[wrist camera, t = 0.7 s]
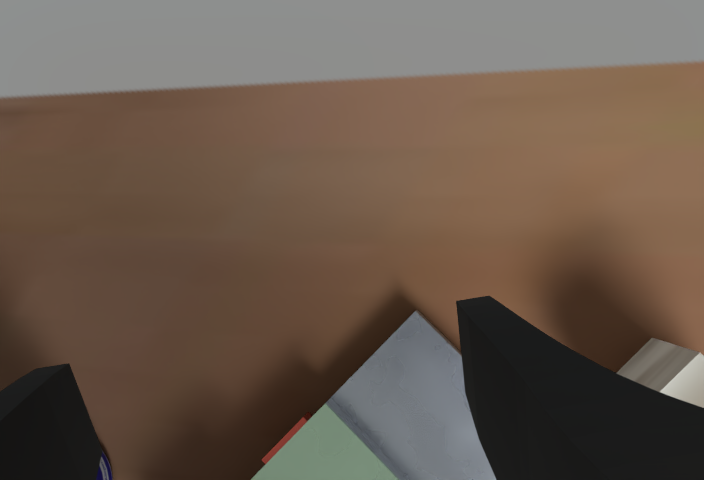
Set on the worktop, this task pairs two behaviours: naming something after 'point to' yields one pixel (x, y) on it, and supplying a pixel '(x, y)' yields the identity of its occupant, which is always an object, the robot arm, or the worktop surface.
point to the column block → (668, 370)
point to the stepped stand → (390, 419)
